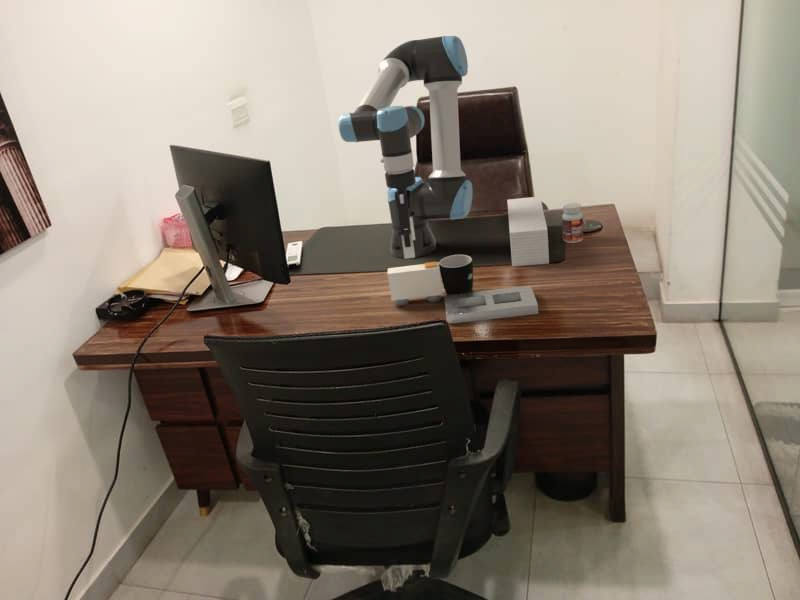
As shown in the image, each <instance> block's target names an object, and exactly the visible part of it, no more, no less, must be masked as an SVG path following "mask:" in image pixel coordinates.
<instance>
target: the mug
mask: <svg viewBox="0 0 800 600" xmlns="http://www.w3.org/2000/svg"><path fill="white" fill-rule="evenodd" d="M438 262H439V267H440V275H441V283H442V287H443V289H444V291H445V295H452V294H460V293H469V292H473V285H474V263H473V258H472V257H471V256H469V255H466V254H453V255H449V256H444V257H443V258H442V259H440V261H438Z"/></svg>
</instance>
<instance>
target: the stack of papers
mask: <svg viewBox="0 0 800 600" xmlns="http://www.w3.org/2000/svg"><path fill="white" fill-rule="evenodd" d="M506 202H507V214H508V228H509V241H510V242H509V243H510V254H511V256H510V257H511V267H521V266H522V267H523V266H533V265H547V264H550V255H549V252H550V251H549V237H548V236H549V234H548V233H549V232H548V226H547V222H546V217H545V212H544V207H543V202H542V198H541V196H531V197H522V198H512V199H511V198H509V199H507V201H506Z"/></svg>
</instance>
